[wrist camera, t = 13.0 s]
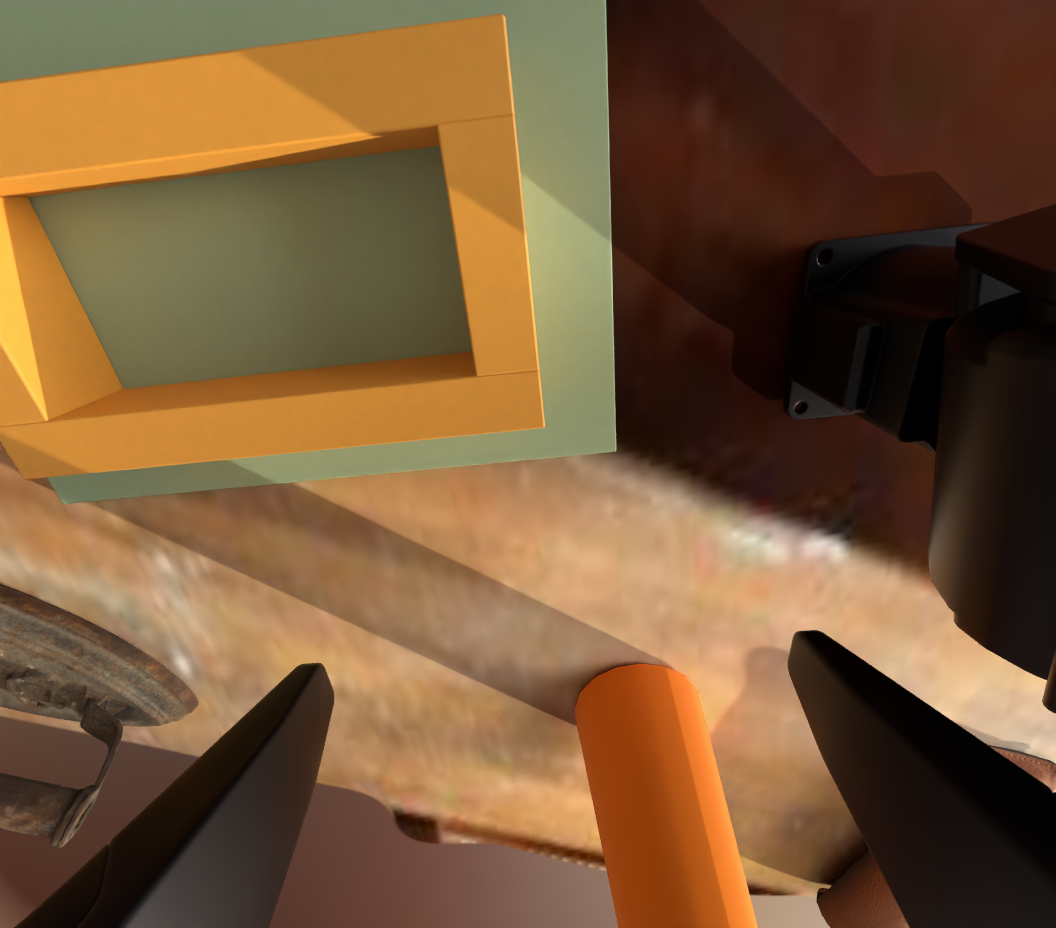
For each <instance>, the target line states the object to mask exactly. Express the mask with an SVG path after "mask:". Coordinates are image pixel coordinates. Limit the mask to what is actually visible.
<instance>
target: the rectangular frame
mask: <svg viewBox="0 0 1056 928" xmlns="http://www.w3.org/2000/svg"><path fill="white" fill-rule="evenodd" d="M434 146H440V150H441V157H442V163H443V169H444V176H445V182H446V188H447V195H448V201H449V207H450V214H451V220H452V226H453V233H454V239H455V245H456V252H457V258H458V265H459V271H460V277H461V284H462V290H463V296H464V303H465V309H466V315H467V322H468V328H469V334H470V341H471V347H472V352H463V353H453V354H444V355H435V356H425V357H416V358H407V359H397V360H388V361H379V362H369V363H360V364H351V365H341V366H332V367H323V368H313V369H304V370H295V371H285V372H276V373H267V374H257V375H248V376H239V377H229V378H220V379H211V380H201V381H192V382H183V383H173V384H164V385H155V386H145V387H136V388H127V389H123V387H122V385H121V383H120V381H119V379H118V377H117V375H116V373H115V371H114V369H113V367H112V365H111V363H110V361H109V359H108V357H107V355H106V353H105V351H104V349H103V347H102V345H101V343H100V341H99V339H98V337H97V335H96V333H95V331H94V329H93V327H92V325H91V323H90V321H89V319H88V317H87V315H86V313H85V311H84V309H83V307H82V305H81V303H80V301H79V299H78V297H77V295H76V293H75V291H74V289H73V287H72V285H71V283H70V281H69V279H68V277H67V275H66V273H65V271H64V269H63V267H62V265H61V263H60V261H59V259H58V257H57V254H56V252H55V250H54V248H53V246H52V244H51V242H50V240H49V238H48V236H47V234H46V232H45V230H44V228H43V226H42V224H41V222H40V220H39V218H38V216H37V214H36V212H35V210H34V208H33V206H32V204H31V202H30V200H29V199H28V198H27V197H34V196H42V195H50V194H58V193H66V192H74V191H82V190H90V189H98V188H106V187H114V186H122V185H130V184H138V183H146V182H154V181H162V180H170V179H178V178H186V177H194V176H202V175H210V174H218V173H226V172H234V171H242V170H250V169H258V168H266V167H274V166H282V165H290V164H298V163H306V162H314V161H322V160H330V159H338V158H346V157H354V156H362V155H370V154H378V153H386V152H394V151H402V150H410V149H418V148H426V147H434ZM544 427H545V421H544V411H543V400H542V390H541V380H540V369H539V359H538V348H537V338H536V328H535V317H534V307H533V297H532V286H531V276H530V265H529V255H528V245H527V234H526V224H525V214H524V203H523V193H522V182H521V172H520V162H519V151H518V141H517V130H516V120H515V110H514V99H513V89H512V79H511V68H510V58H509V47H508V37H507V27H506V18H505V16H504V15H503V14H496V15H488V16H481V17H474V18H466V19H459V20H451V21H444V22H437V23H429V24H422V25H414V26H407V27H400V28H392V29H385V30H378V31H370V32H363V33H355V34H348V35H341V36H333V37H326V38H318V39H311V40H304V41H296V42H289V43H281V44H274V45H267V46H259V47H252V48H245V49H237V50H230V51H222V52H215V53H208V54H200V55H193V56H185V57H178V58H171V59H163V60H156V61H148V62H141V63H134V64H126V65H119V66H112V67H104V68H97V69H89V70H82V71H75V72H67V73H60V74H52V75H45V76H38V77H30V78H23V79H16V80H8V81H1V82H0V443H1V444H2V446H3V447H4V449H5V450H6V452H7V453H8V455H9V456H10V458H11V460H12V461H13V463H14V464H15V466H16V467H17V469H18V470H19V472H20V473H21V475H22V476H23V478H24V479H25V480H28V479H38V478H48V477H58V476H68V475H78V474H88V473H98V472H108V471H118V470H128V469H138V468H148V467H158V466H168V465H178V464H188V463H198V462H208V461H218V460H228V459H238V458H248V457H258V456H268V455H278V454H288V453H298V452H308V451H318V450H328V449H338V448H348V447H358V446H368V445H378V444H388V443H398V442H408V441H418V440H428V439H438V438H448V437H458V436H468V435H478V434H488V433H498V432H508V431H518V430H528V429H538V428H544Z"/></svg>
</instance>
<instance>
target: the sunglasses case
mask: <svg viewBox="0 0 1056 928" xmlns="http://www.w3.org/2000/svg"><path fill="white" fill-rule="evenodd" d="M988 746H990V745H988ZM990 747H991V748H993V749H994V750H996V751H997V752H998V753H1000V754H1001V755H1003V756H1004V757H1006V758H1007V759H1009V760H1010V761H1012V762H1013V763H1015V764H1016V765H1017V766H1019V767H1020V768H1022V769H1023V770H1025V771H1026V772H1028V773H1029V774H1031V775H1032V776H1034V777H1035V778H1037V779H1038V780H1039V781H1041V782H1042V783H1044V784H1045V785H1047V786H1048V787H1050V789H1051V790H1052V792H1054V791H1055V790H1056V764H1055V763H1054V762H1052V761H1050V760H1046V759H1043V758H1039V757H1036V756H1033V755H1029V754H1026V753H1023V752H1019V751H1015V750H1010V749H1006V748H1001V747H995V746H990ZM817 904H818V906H819V909H820V911H821V914H822V916H823V917H824V919H825V920H826V922H827V924H828V925H829V926H830V927H831V928H909V926H908V924H907V922H906V920H905V918H904V916H903V914H902V912H901V910H900V908H899V906H898V904H897V902H896V900H895V898H894V896H893V895H892V893H891V891H890V889H889V887H888V885H887V883H886V881H885V879H884V877H883V875H882V873H881V871H880V869H879V867H878V865H877V863H876V861H875V859H874V857H873V856H872V854H871V852H870V850H868V852H867V853H866V854H865V855H864V857H863V858H862V859H860V860H858V861H857V862H855V863H854V864H853V865H852V866H851V867H850V868H849V869H848V870H847V871H846V873H845V874H844V875H843V876H842V877H841V878H840V879H839V880H838V881H837V882H835V883H834V884H833V885H832V886H831V887H830V888H829V889H826V888H820V889H819V890H818V892H817Z"/></svg>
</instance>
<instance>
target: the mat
mask: <svg viewBox="0 0 1056 928" xmlns="http://www.w3.org/2000/svg"><path fill="white" fill-rule="evenodd" d="M496 14H503V15H504V16H505V18H506V27H507V37H508V47H509V58H510V68H511V79H512V89H513V99H514V110H515V120H516V130H517V141H518V151H519V162H520V172H521V182H522V193H523V203H524V214H525V224H526V234H527V245H528V255H529V265H530V276H531V286H532V297H533V307H534V317H535V328H536V338H537V348H538V359H539V369H540V380H541V390H542V400H543V411H544V421H545V427H544V428H538V429H528V430H518V431H508V432H498V433H488V434H478V435H468V436H458V437H448V438H438V439H428V440H418V441H408V442H398V443H388V444H378V445H368V446H358V447H348V448H338V449H328V450H318V451H308V452H298V453H288V454H278V455H268V456H258V457H248V458H238V459H228V460H218V461H208V462H198V463H188V464H178V465H168V466H158V467H148V468H138V469H128V470H118V471H108V472H98V473H88V474H78V475H68V476H58V477H48V478H47V479H48V481H49V482H50V484H51V486H52V487H53V489H54V490H55V492H56V494H57V495H58V497H59V498H60V500H61V502H62V503H63V504H70V503H80V502H91V501H101V500H112V499H122V498H133V497H143V496H153V495H164V494H174V493H185V492H195V491H206V490H216V489H227V488H237V487H248V486H258V485H269V484H279V483H290V482H300V481H311V480H321V479H332V478H342V477H352V476H363V475H373V474H384V473H394V472H405V471H415V470H426V469H436V468H447V467H457V466H468V465H478V464H489V463H499V462H510V461H520V460H531V459H541V458H552V457H562V456H572V455H583V454H593V453H604V452H614V451H616V420H615V377H614V333H613V290H612V247H611V203H610V160H609V117H608V73H607V30H606V0H0V82H1V81H8V80H16V79H23V78H30V77H38V76H45V75H52V74H60V73H67V72H75V71H82V70H89V69H97V68H104V67H112V66H119V65H126V64H134V63H141V62H148V61H156V60H163V59H171V58H178V57H185V56H193V55H200V54H208V53H215V52H222V51H230V50H237V49H245V48H252V47H259V46H267V45H274V44H281V43H289V42H296V41H304V40H311V39H318V38H326V37H333V36H341V35H348V34H355V33H363V32H370V31H378V30H385V29H392V28H400V27H407V26H414V25H422V24H429V23H437V22H444V21H451V20H459V19H466V18H474V17H481V16H488V15H496ZM27 198H28V199H29V200H30V202H31V204H32V206H33V208H34V210H35V212H36V214H37V216H38V218H39V220H40V222H41V224H42V226H43V228H44V230H45V232H46V234H47V236H48V238H49V240H50V242H51V244H52V246H53V248H54V250H55V252H56V254H57V257H58V259H59V261H60V263H61V265H62V267H63V269H64V271H65V273H66V275H67V277H68V279H69V281H70V283H71V285H72V287H73V289H74V291H75V293H76V295H77V297H78V299H79V301H80V303H81V305H82V307H83V309H84V311H85V313H86V315H87V317H88V319H89V321H90V323H91V325H92V327H93V329H94V331H95V333H96V335H97V337H98V339H99V341H100V343H101V345H102V347H103V349H104V351H105V353H106V355H107V357H108V359H109V361H110V363H111V365H112V367H113V369H114V371H115V373H116V375H117V377H118V379H119V381H120V383H121V385H122V387H123V389H127V388H136V387H145V386H155V385H164V384H173V383H183V382H192V381H201V380H211V379H220V378H229V377H239V376H248V375H257V374H267V373H276V372H285V371H295V370H304V369H313V368H323V367H332V366H341V365H351V364H360V363H369V362H379V361H388V360H397V359H407V358H416V357H425V356H435V355H444V354H453V353H463V352H472V347H471V341H470V334H469V328H468V322H467V315H466V309H465V303H464V296H463V290H462V284H461V277H460V271H459V265H458V258H457V252H456V245H455V239H454V233H453V226H452V220H451V214H450V207H449V201H448V195H447V188H446V182H445V176H444V169H443V163H442V157H441V150H440V146H434V147H426V148H418V149H410V150H402V151H394V152H386V153H378V154H370V155H362V156H354V157H346V158H338V159H330V160H322V161H314V162H306V163H298V164H290V165H282V166H274V167H266V168H258V169H250V170H242V171H234V172H226V173H218V174H210V175H202V176H194V177H186V178H178V179H170V180H162V181H154V182H146V183H138V184H130V185H122V186H114V187H106V188H98V189H90V190H82V191H74V192H66V193H58V194H50V195H42V196H34V197H27Z"/></svg>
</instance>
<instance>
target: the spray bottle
mask: <svg viewBox="0 0 1056 928" xmlns="http://www.w3.org/2000/svg"><path fill="white" fill-rule="evenodd" d="M574 712H575V717H576V722H577V727H578V732H579V737H580V742H581V747H582V752H583V756H584V761H585V766H586V771H587V776H588V781H589V786H590V791H591V795H592V800H593V805H594V810H595V815H596V820H597V825H598V830H599V834H600V839H601V844H602V849H603V854H604V859H605V864H606V869H607V873H608V878H609V883H610V888H611V893H612V898H613V903H614V908H615V913H616V917H617V922H618V927H619V928H758V927H757V923H756V919H755V915H754V911H753V907H752V903H751V899H750V895H749V891H748V887H747V883H746V879H745V875H744V872H743V868H742V864H741V860H740V856H739V852H738V848H737V844H736V840H735V836H734V832H733V828H732V824H731V820H730V816H729V812H728V808H727V804H726V801H725V797H724V793H723V789H722V785H721V781H720V777H719V773H718V769H717V765H716V761H715V757H714V753H713V749H712V745H711V741H710V737H709V734H708V730H707V726H706V722H705V718H704V714H703V710H702V706H701V702H700V698H699V694H698V691H697V690H696V689H695V688H694V686H693V685H692V684H691V683H690V681H689V680H688V679H687V678H686V677H685V676H684V675H682V674H680V673H678V672H676V671H674V670H672V669H670V668H668V667H665V666H658V665H649V664H635V665H629V666H622V667H616V668H614V669H612V670H610V671H608V672H605V673H603V674H601V675H599V676H597V677H595V678H594V679H593V680H592V681H591V682H590V683H589V684H588V685H587V686H586V687H585V688H584V689H583V690H582V691H581V692H580V694H579V698H578V701H577V704H576V707H575V710H574Z"/></svg>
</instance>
